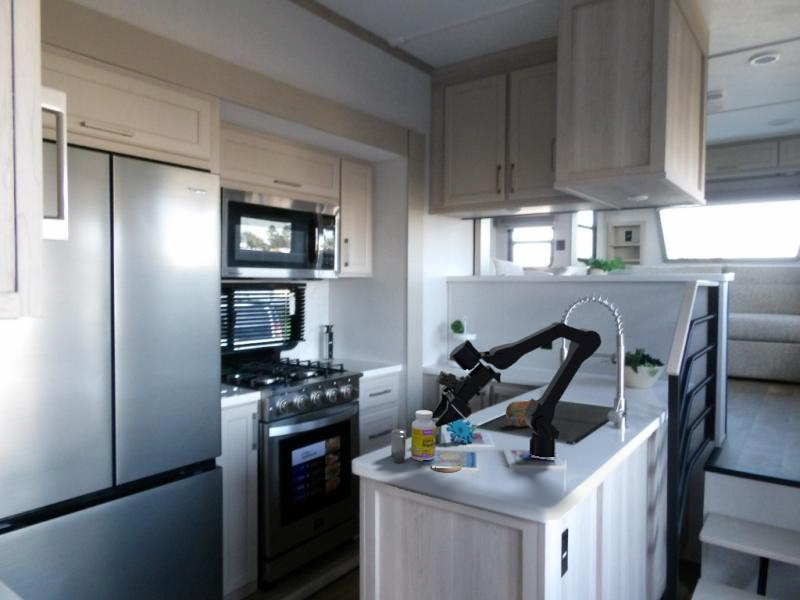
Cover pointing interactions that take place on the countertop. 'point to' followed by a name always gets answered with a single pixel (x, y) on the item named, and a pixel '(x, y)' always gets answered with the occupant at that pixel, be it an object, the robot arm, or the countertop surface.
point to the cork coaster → (448, 469)
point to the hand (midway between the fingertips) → (434, 421)
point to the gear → (461, 430)
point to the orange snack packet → (517, 412)
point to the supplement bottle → (423, 436)
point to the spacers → (400, 442)
